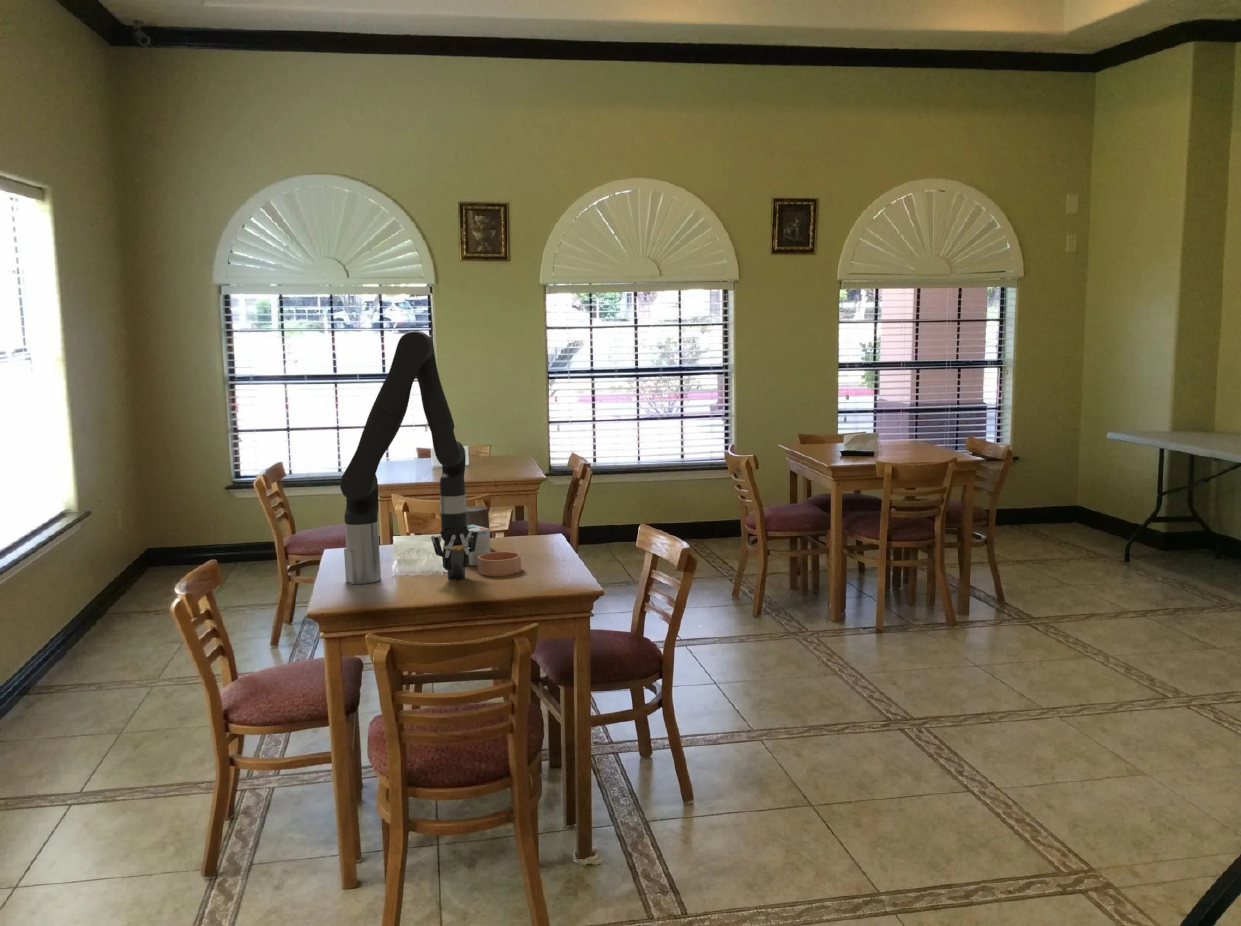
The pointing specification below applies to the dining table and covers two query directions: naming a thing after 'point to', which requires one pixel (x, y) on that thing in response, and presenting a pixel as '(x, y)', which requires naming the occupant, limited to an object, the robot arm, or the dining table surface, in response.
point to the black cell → (456, 563)
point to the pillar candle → (478, 516)
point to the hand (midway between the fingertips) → (456, 568)
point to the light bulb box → (479, 543)
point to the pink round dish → (499, 563)
